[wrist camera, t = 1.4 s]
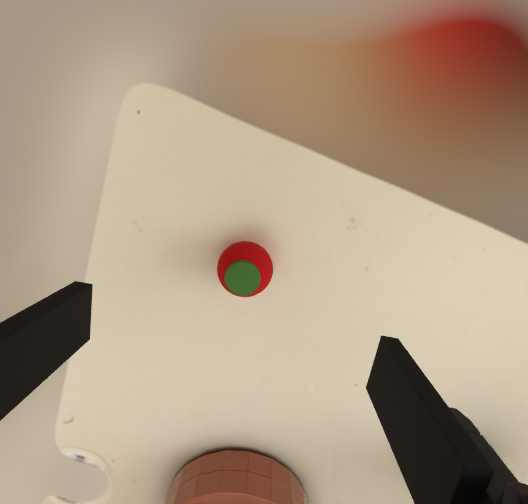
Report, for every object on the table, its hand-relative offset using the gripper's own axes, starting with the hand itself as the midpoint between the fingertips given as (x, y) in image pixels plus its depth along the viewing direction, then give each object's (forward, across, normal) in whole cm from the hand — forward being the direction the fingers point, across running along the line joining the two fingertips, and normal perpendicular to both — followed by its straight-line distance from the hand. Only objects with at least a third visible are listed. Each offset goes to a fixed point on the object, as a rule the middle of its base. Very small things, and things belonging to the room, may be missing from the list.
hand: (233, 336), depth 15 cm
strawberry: (+14, 0, 0) cm, 14 cm away
